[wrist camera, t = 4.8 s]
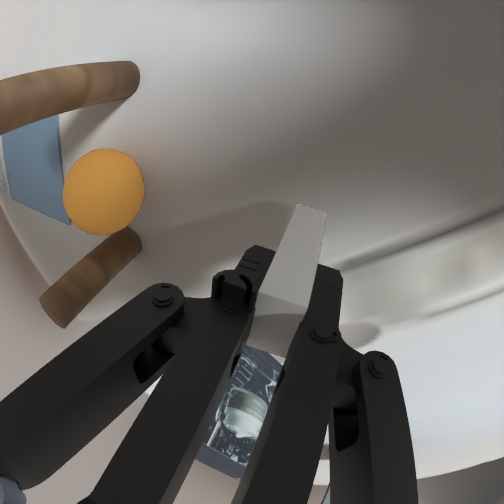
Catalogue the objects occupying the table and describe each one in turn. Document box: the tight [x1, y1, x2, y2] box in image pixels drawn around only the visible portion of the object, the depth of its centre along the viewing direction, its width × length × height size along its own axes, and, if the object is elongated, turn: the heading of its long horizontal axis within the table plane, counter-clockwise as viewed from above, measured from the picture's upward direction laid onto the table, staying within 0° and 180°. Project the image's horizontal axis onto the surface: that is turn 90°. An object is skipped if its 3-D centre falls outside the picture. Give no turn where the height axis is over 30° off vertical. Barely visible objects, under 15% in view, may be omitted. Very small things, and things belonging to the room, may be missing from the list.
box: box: [195, 344, 283, 480], centre depth 21 cm, size 11×7×10 cm, turn 41°
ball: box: [63, 149, 144, 235], centre depth 15 cm, size 6×6×6 cm
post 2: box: [39, 227, 141, 328], centre depth 18 cm, size 3×3×9 cm
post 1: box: [0, 61, 140, 135], centre depth 10 cm, size 3×3×9 cm
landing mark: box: [2, 115, 71, 225], centre depth 20 cm, size 14×14×1 cm
